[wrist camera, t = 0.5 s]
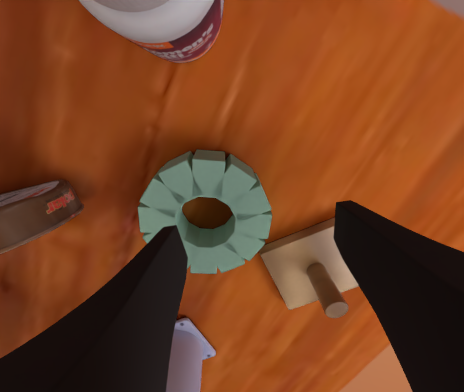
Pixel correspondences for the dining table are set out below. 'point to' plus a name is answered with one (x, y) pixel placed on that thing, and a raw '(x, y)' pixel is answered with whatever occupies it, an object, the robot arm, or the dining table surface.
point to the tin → (35, 212)
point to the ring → (215, 186)
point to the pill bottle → (163, 24)
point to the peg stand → (310, 269)
